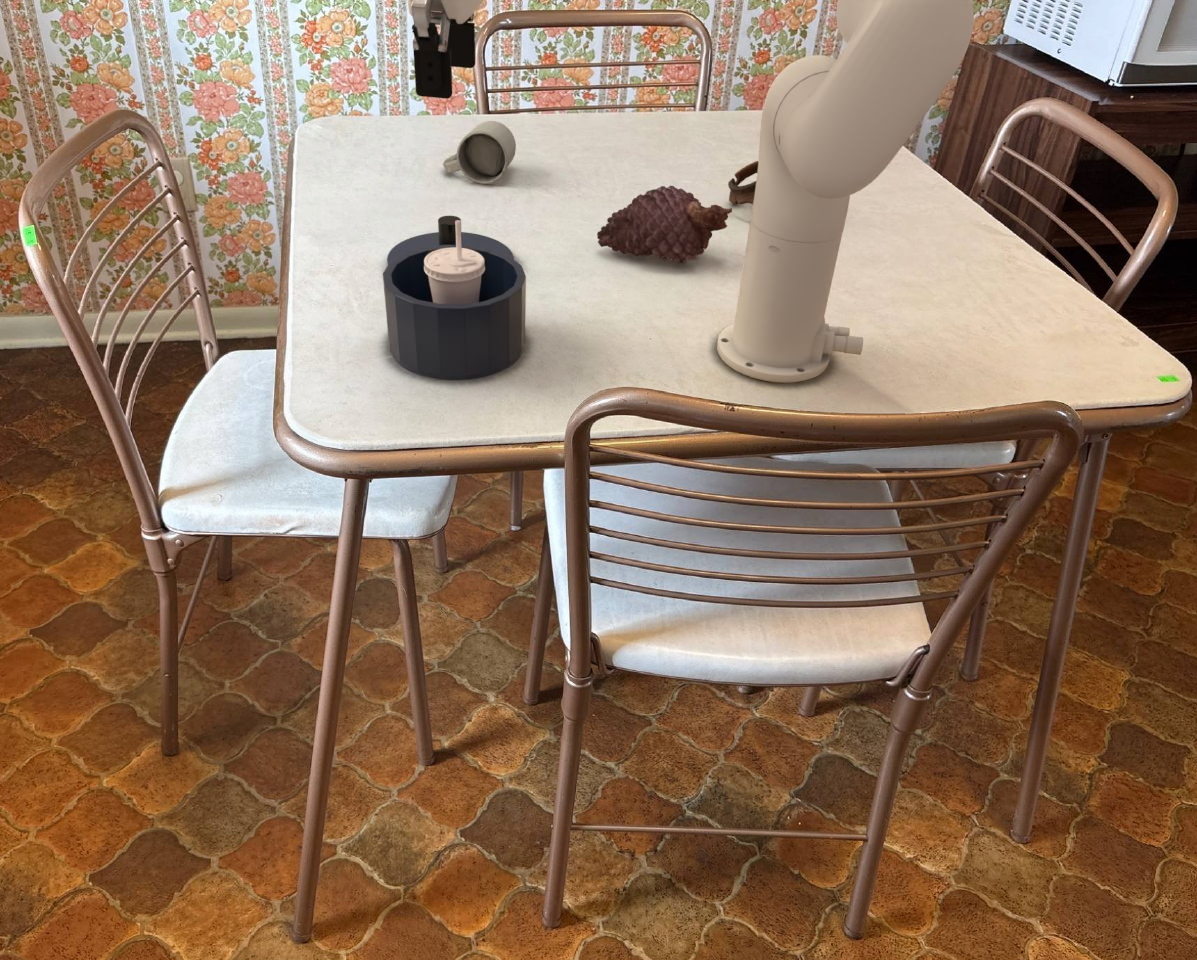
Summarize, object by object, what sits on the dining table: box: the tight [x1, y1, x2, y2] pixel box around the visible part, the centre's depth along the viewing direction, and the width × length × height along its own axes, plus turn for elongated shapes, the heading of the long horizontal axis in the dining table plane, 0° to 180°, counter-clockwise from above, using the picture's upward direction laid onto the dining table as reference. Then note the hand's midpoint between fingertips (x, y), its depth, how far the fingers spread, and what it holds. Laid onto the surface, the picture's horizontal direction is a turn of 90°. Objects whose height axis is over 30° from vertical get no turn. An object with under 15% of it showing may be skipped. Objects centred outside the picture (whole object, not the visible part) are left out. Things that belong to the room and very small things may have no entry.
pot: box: [382, 245, 527, 381], centre depth 107 cm, size 15×15×8 cm
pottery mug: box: [727, 160, 758, 206], centre depth 143 cm, size 12×10×8 cm
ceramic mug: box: [442, 120, 517, 185], centre depth 147 cm, size 11×8×8 cm
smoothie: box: [424, 220, 485, 304], centre depth 105 cm, size 6×6×14 cm
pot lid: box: [386, 215, 515, 265], centre depth 123 cm, size 16×16×6 cm
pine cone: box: [596, 185, 733, 264], centre depth 128 cm, size 18×10×10 cm
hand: (447, 80), depth 92 cm, fingers open, 9 cm apart
